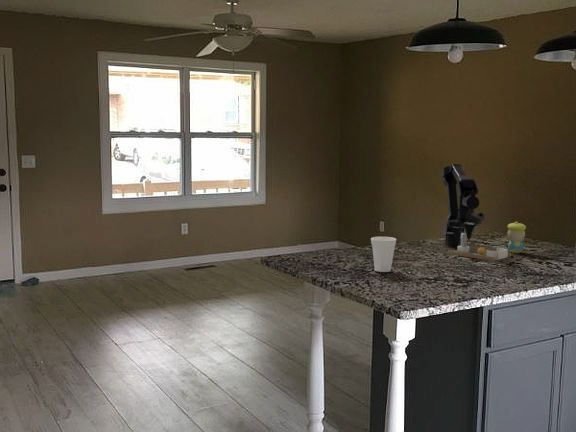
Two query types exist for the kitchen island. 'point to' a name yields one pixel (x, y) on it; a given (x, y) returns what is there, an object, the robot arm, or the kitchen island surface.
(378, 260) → the cup
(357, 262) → the kitchen island surface
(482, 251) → the ball
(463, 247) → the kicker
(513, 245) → the toy
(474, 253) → the pitch
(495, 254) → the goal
